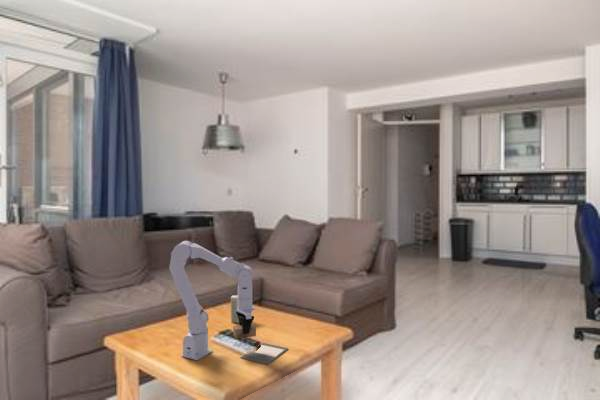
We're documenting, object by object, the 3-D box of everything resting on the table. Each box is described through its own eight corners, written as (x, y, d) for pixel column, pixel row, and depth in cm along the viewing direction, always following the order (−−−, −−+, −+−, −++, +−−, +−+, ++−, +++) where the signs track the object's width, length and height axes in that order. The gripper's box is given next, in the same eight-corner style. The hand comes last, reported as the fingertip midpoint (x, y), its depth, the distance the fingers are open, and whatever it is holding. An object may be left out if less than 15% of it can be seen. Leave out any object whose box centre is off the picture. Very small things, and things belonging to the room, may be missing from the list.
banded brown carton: (235, 338, 156) (235, 329, 156) (233, 334, 160) (233, 325, 160) (255, 336, 159) (255, 327, 159) (253, 332, 163) (253, 323, 163)
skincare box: (244, 319, 199) (245, 294, 198) (243, 322, 194) (244, 297, 194) (231, 319, 198) (231, 294, 198) (230, 322, 194) (230, 297, 194)
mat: (267, 364, 150) (267, 363, 150) (240, 358, 155) (240, 357, 155) (288, 349, 164) (288, 348, 164) (262, 343, 169) (262, 342, 169)
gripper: (259, 301, 154) (259, 336, 154) (250, 291, 167) (250, 324, 168) (241, 303, 151) (240, 339, 152) (233, 293, 165) (233, 326, 165)
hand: (244, 331), depth 160 cm, fingers closed on banded brown carton, 4 cm apart
